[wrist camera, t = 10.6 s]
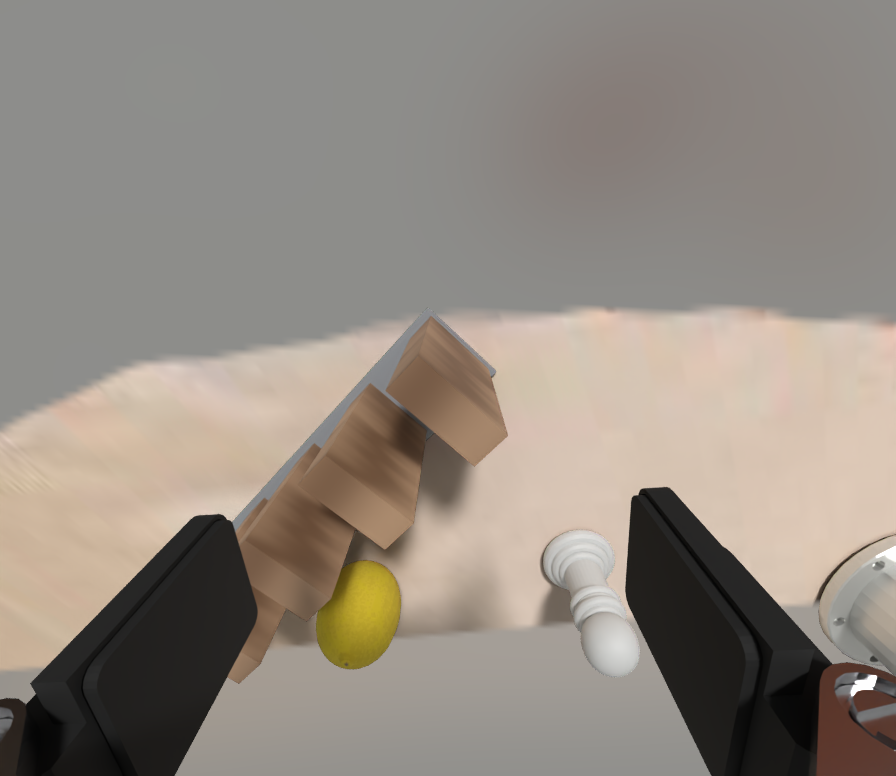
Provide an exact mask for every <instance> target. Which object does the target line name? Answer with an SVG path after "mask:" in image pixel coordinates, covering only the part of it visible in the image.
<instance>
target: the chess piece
mask: <svg viewBox="0 0 896 776" xmlns="http://www.w3.org/2000/svg"><path fill="white" fill-rule="evenodd" d="M614 564H615V556H614V551H613V548H612V546H611V545H610V543H609V542H608V541H607V540H606V539H605V538H604V537H603V536H601V535H600V534H598V533H596V532H593V531H589V530H572V531H568V532H565V533H563V534H561V535H559V536H558V537H556V538H555V539H554V540H552V541H551V543H550V544H549V545H548V546H547V548H546V550H545V553H544V557H543V567H544V570H545V573H546V575H547V576H548V577H549V579H550V580H551V581H552V582H553V583H554V584H555V585H557V586H559V587H561V588H563V589H567V590H569V592H570V595H571V598H572V599H571V602H570V611H571V614H572V616H573V617H574V624H575V626H576V628H577V629H578V630H579V631H580V632H581V644H582V649H583V651H584V654H585V656H586V658H587V660H588V661H589V663H590V664H591V665H592V667H593V668H595V669H596V670H597V671H598V672H600V673H601V674H603V675H606V676H610V677H621V676H624V675H627V674H629V673H630V672H631V671H633V669H634V668H635V667H636V665H637V663H638V660H639V656H640V649H639V643H638V639H637V637H636V634H635V632H634V630H633V628H632V627H631V626H630V625H629V623H628V622H627V621H626V619H627V615H626V610H625V607H624V606H623V605H622V603H621V599H620V597H619V595H618V594H617V593H616V592H615V591H614V590H613V589H612V588H610V587H609V585H608V583H607V581H606V579H607V578H608V576H609V575H610V574H611V572H612V570H613V568H614Z"/></svg>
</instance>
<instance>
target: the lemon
mask: <svg viewBox="0 0 896 776" xmlns="http://www.w3.org/2000/svg"><path fill="white" fill-rule="evenodd" d="M400 609H401V596H400V591H399V587H398V584H397V581H396V580H395V578H394V576H393V574H392V573H391V572H390V571H389V570H388V569H387V568H386V567H384V566H383V565H381V564H379V563H377V562H374V561H368V560H363V561H357V562H353V563H351V564H349V565H347V566H345V567H343V568H342V569H341V571H340V574H339V577H338V580H337V583H336V586H335V589H334V592H333V594H332V597H331V599H330V600H329V601H328V602H327V603H326V604H325V605H324V606H323V607H322V608H321V609H319V610H318V614H317V621H316V632H317V639H318V644H319V646H320V648H321V650H322V652H323V654H324V655H325V656H326V658H327V659H328V660H329V661H330V662H332V663H333V664H334V665H336V666H338V667H341V668H345V669H359V668H362V667H365V666H368V665H370V664H371V663H373V662H374V661H376V660H377V659H378V658H379V657H380V656H381V655H382V654H383V653H384V652H385V651H386V649H387V648H388V646H389V644H390V643H391V640H392V638H393V636H394V634H395V631H396V629H397V626H398V622H399V618H400Z"/></svg>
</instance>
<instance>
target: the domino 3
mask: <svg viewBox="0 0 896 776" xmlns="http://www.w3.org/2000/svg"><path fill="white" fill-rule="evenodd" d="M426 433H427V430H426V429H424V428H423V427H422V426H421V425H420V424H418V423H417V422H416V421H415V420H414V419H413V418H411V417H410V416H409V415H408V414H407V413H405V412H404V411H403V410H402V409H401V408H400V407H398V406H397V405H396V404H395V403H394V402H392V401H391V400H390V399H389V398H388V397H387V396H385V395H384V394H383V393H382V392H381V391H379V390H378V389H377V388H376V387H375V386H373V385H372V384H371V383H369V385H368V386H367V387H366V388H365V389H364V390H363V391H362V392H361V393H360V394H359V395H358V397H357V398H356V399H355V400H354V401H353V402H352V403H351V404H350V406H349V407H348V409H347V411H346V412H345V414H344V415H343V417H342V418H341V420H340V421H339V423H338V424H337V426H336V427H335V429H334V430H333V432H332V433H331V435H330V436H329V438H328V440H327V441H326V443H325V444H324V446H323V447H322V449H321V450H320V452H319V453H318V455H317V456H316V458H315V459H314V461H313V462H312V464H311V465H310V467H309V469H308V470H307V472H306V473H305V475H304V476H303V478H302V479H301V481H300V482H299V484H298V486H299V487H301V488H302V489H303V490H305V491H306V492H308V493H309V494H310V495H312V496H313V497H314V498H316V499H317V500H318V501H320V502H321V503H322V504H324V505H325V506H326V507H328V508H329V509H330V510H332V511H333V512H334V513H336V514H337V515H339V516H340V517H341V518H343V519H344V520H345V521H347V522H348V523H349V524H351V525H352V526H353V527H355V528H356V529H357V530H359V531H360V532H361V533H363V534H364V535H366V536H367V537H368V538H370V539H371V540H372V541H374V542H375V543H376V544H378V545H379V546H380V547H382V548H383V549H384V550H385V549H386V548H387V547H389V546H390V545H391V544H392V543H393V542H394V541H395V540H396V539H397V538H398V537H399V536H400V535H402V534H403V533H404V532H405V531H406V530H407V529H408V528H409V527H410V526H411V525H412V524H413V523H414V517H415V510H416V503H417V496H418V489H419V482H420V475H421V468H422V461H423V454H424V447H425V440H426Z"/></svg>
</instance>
